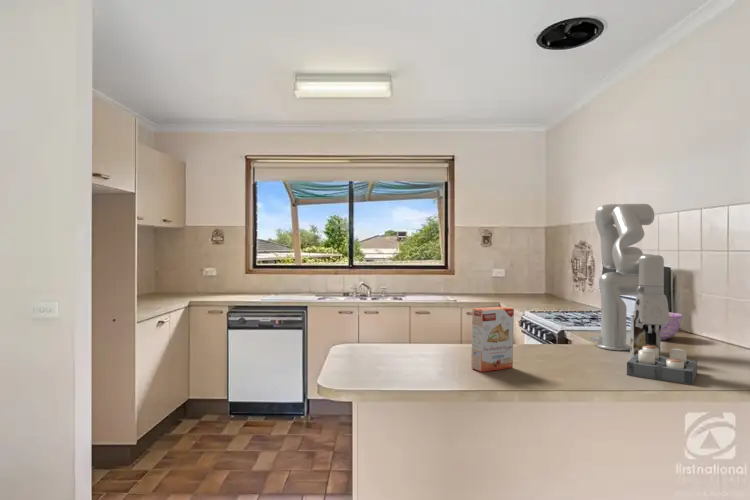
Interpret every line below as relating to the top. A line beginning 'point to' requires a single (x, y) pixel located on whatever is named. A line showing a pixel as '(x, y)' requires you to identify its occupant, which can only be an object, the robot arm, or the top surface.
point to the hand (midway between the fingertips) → (650, 344)
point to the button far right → (677, 354)
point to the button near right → (675, 363)
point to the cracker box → (492, 338)
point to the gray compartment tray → (663, 370)
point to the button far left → (653, 350)
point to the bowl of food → (671, 326)
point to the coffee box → (640, 338)
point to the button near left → (646, 357)
